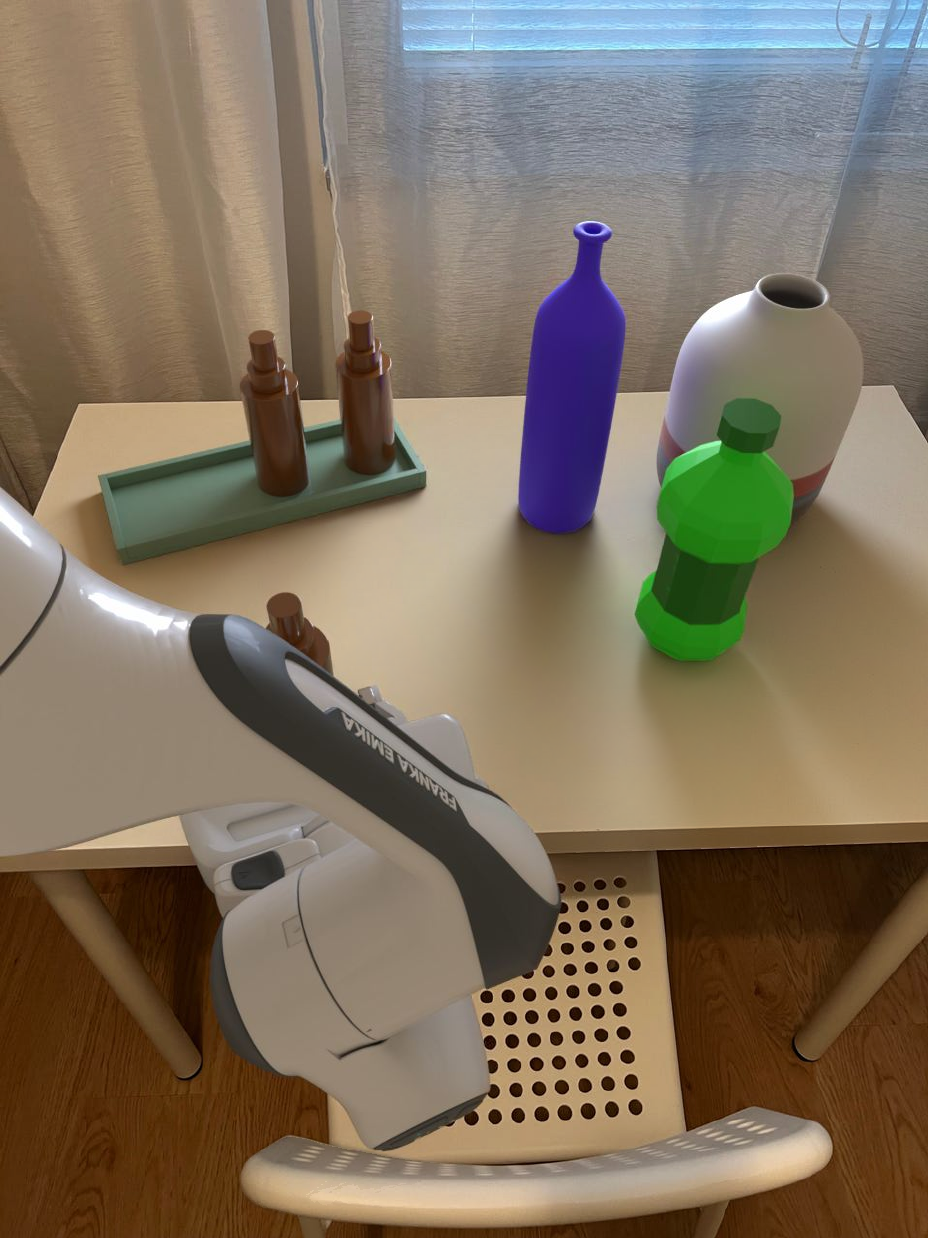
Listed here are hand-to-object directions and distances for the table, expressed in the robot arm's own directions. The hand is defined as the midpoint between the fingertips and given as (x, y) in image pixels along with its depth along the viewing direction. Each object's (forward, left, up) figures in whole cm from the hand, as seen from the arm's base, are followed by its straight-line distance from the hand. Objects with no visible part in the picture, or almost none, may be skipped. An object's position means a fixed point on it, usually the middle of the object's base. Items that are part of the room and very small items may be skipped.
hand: (305, 708), depth 69 cm
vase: (+50, +16, -9) cm, 54 cm away
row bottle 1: (+7, +35, -8) cm, 37 cm away
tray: (+5, +35, -9) cm, 37 cm away
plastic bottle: (+35, +1, -9) cm, 36 cm away
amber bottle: (0, +3, -9) cm, 9 cm away
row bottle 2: (+17, +35, -8) cm, 40 cm away
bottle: (+32, +21, -9) cm, 40 cm away
